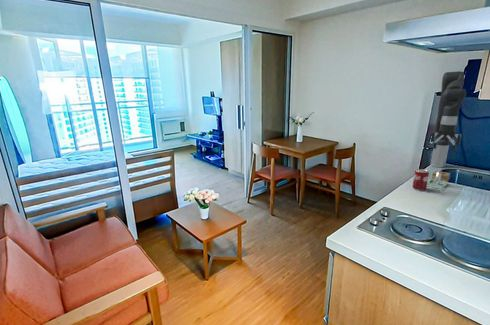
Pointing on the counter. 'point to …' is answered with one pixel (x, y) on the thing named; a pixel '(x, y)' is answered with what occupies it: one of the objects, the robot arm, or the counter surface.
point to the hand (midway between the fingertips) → (443, 149)
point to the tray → (437, 184)
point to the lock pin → (438, 177)
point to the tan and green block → (442, 176)
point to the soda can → (420, 179)
